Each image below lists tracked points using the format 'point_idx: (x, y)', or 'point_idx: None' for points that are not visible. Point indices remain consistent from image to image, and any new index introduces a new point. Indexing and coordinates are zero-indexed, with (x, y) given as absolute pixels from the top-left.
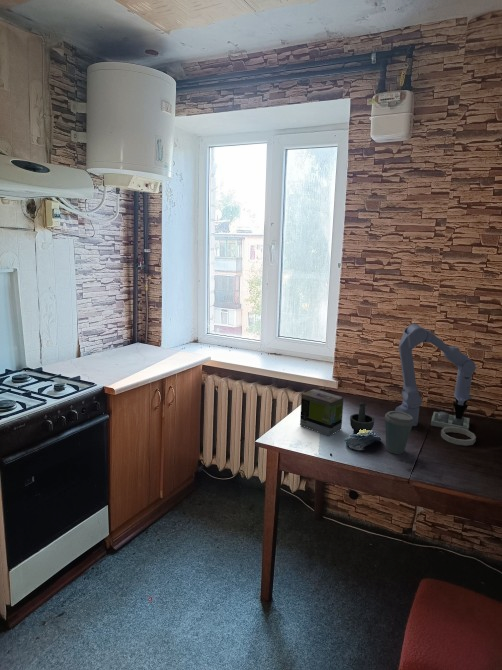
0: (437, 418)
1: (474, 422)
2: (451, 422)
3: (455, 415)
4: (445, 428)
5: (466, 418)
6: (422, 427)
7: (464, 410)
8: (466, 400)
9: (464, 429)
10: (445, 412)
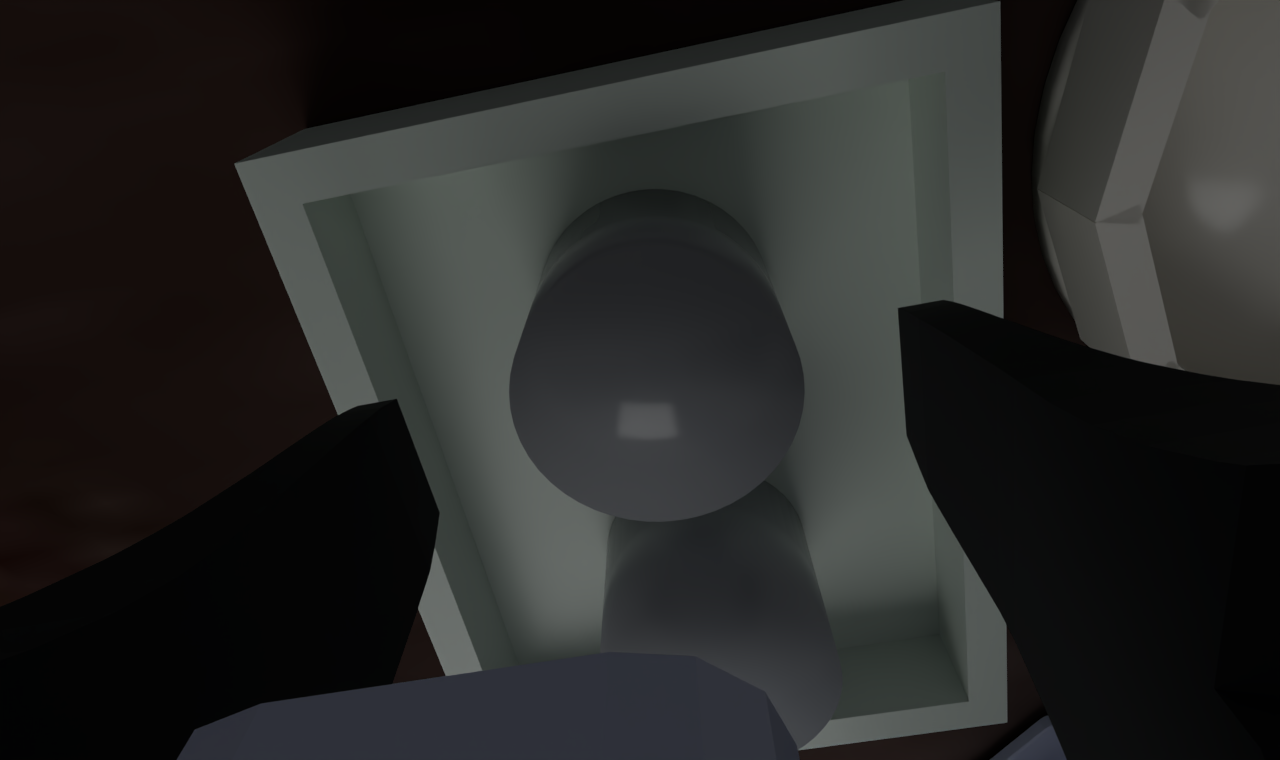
0: (580, 649)
1: (40, 47)
2: None
3: (629, 481)
4: None
5: (309, 226)
6: (1039, 697)
7: (1257, 394)
8: (110, 667)
9: (1162, 76)
10: None
